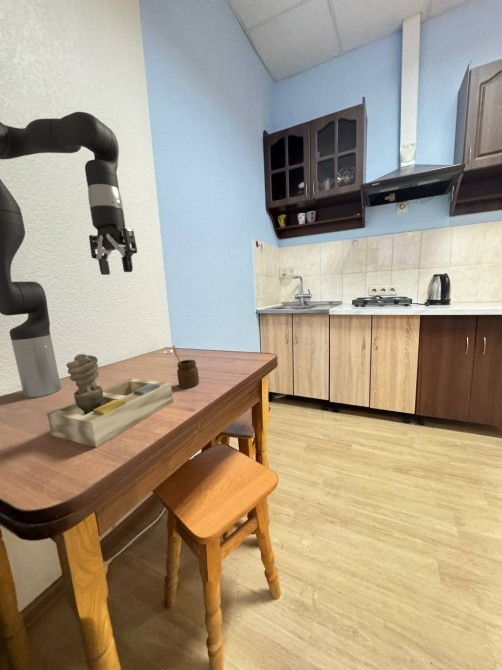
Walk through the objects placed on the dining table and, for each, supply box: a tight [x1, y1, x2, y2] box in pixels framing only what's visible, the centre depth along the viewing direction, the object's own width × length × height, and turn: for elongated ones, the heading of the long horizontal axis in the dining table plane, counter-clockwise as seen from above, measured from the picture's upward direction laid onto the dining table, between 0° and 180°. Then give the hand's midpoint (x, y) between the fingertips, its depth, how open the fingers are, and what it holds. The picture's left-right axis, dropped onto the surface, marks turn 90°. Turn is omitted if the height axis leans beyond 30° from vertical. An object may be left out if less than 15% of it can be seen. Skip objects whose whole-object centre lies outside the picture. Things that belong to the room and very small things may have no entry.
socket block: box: [46, 378, 174, 448], centre depth 63 cm, size 14×21×6 cm, turn 155°
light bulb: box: [66, 353, 103, 415], centre depth 58 cm, size 6×6×15 cm
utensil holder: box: [172, 345, 200, 389], centre depth 81 cm, size 6×6×12 cm
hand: (116, 273), depth 73 cm, fingers open, 8 cm apart
